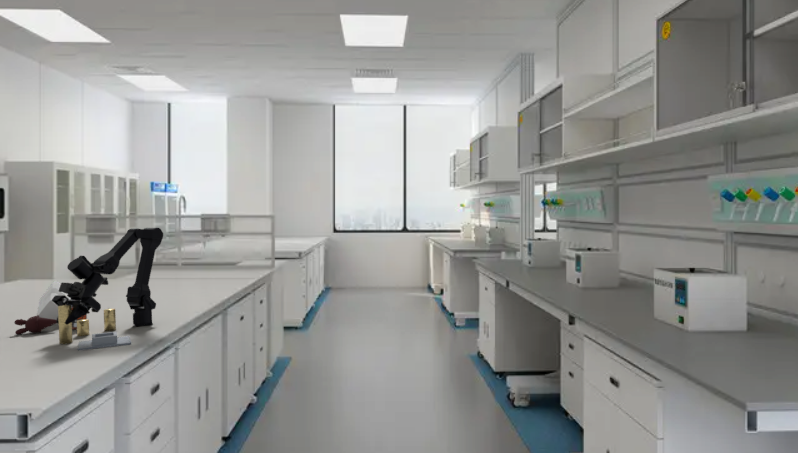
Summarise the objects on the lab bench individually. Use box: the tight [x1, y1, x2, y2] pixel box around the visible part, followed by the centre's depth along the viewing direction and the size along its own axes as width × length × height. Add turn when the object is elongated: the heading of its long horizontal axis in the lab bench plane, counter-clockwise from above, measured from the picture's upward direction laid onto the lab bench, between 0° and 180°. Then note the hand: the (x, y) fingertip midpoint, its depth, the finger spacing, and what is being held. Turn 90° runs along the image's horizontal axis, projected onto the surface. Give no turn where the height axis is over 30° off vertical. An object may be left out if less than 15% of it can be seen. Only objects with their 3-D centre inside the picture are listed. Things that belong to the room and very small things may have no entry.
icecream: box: [14, 314, 57, 335], centre depth 221 cm, size 7×7×15 cm
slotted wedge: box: [35, 280, 71, 325], centre depth 239 cm, size 14×11×18 cm
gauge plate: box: [77, 331, 132, 351], centre depth 200 cm, size 16×12×3 cm
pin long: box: [58, 305, 73, 345], centre depth 202 cm, size 4×4×13 cm
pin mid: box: [103, 308, 117, 332], centre depth 223 cm, size 4×4×8 cm
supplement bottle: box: [71, 307, 88, 331], centre depth 228 cm, size 6×6×11 cm
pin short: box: [76, 318, 90, 337], centre depth 215 cm, size 4×4×6 cm
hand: (61, 323), depth 201 cm, fingers closed on pin long, 4 cm apart
